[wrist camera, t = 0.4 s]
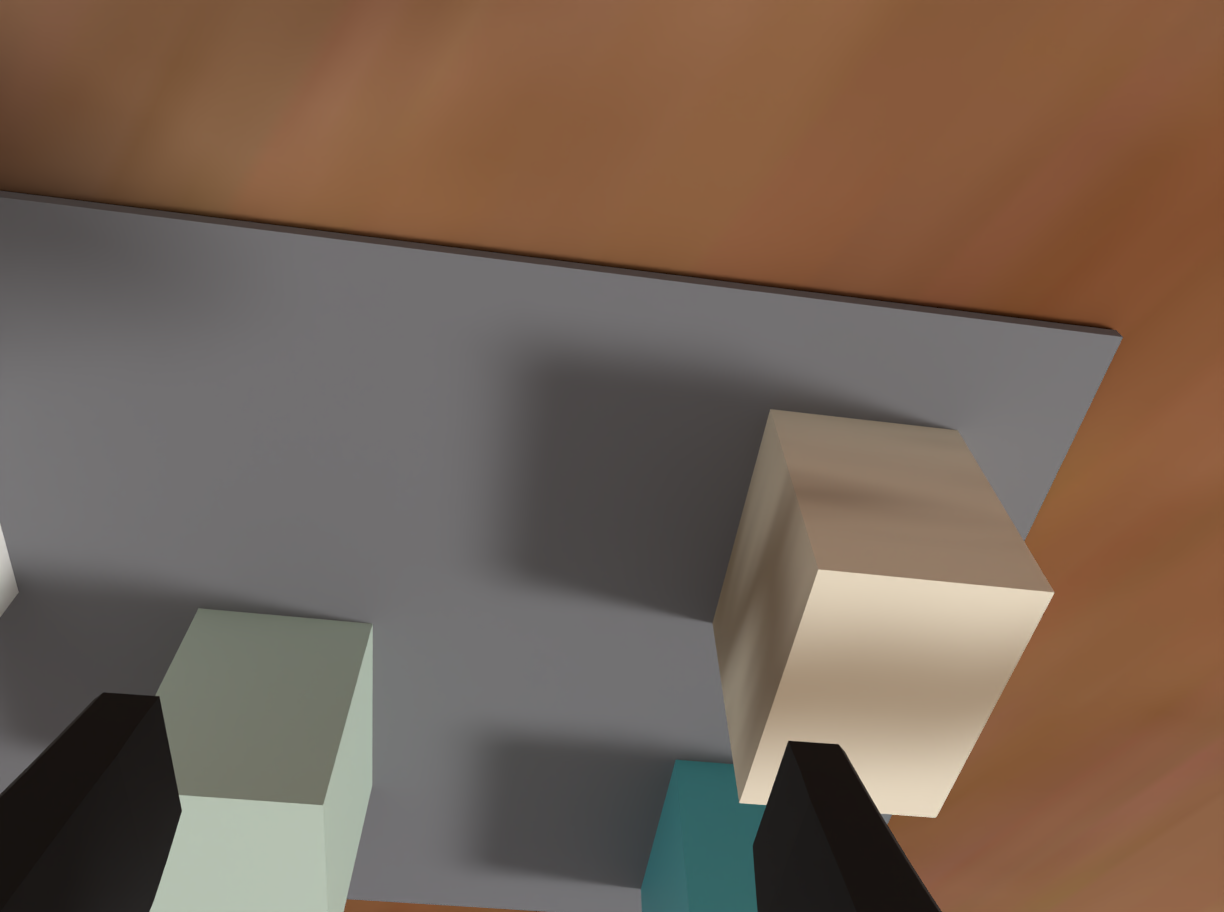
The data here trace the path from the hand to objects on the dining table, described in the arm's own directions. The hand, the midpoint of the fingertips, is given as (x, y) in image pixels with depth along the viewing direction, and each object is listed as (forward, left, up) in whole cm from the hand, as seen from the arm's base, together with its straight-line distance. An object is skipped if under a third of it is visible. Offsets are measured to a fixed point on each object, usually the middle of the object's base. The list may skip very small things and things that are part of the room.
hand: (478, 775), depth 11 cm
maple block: (-3, -7, -9) cm, 12 cm away
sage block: (-10, +5, -9) cm, 15 cm away
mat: (-8, +2, -10) cm, 13 cm away
